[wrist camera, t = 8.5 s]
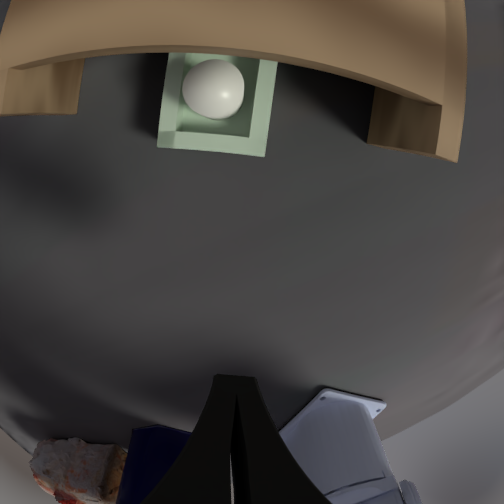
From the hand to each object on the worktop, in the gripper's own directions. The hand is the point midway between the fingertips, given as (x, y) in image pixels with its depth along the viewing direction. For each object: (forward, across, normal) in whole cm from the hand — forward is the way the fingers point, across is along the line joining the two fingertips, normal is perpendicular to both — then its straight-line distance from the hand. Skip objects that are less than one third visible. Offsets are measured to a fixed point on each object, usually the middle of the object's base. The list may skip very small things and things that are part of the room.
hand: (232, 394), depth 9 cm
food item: (+10, +16, +28) cm, 34 cm away
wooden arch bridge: (+9, +2, -13) cm, 17 cm away
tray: (+9, +2, -12) cm, 15 cm away
